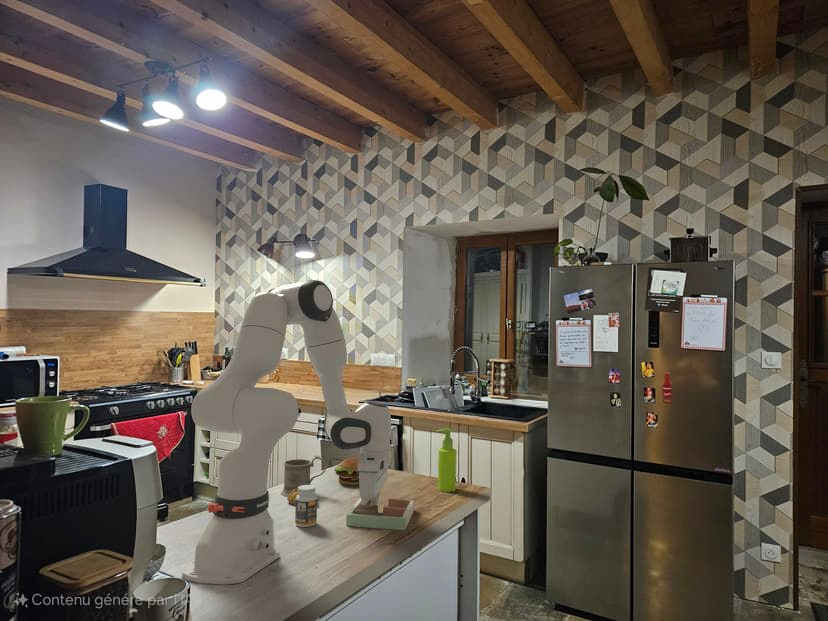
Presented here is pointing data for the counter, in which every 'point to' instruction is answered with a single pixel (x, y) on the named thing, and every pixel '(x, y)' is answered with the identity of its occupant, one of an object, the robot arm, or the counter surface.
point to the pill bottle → (306, 506)
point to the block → (367, 509)
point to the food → (348, 471)
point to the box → (392, 516)
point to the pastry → (293, 497)
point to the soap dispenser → (447, 464)
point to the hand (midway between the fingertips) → (374, 506)
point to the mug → (298, 474)
